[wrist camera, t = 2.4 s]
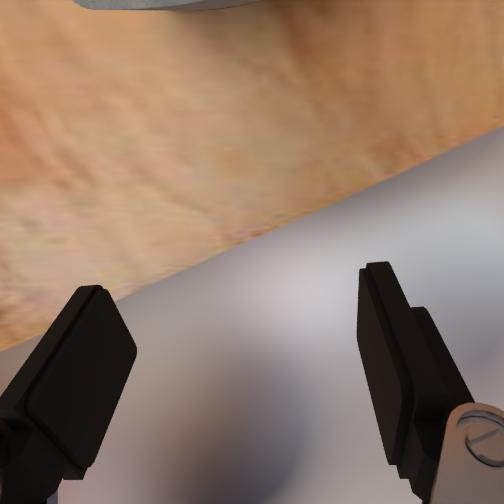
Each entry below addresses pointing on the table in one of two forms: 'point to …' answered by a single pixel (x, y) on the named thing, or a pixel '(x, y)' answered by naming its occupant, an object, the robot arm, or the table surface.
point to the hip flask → (160, 4)
